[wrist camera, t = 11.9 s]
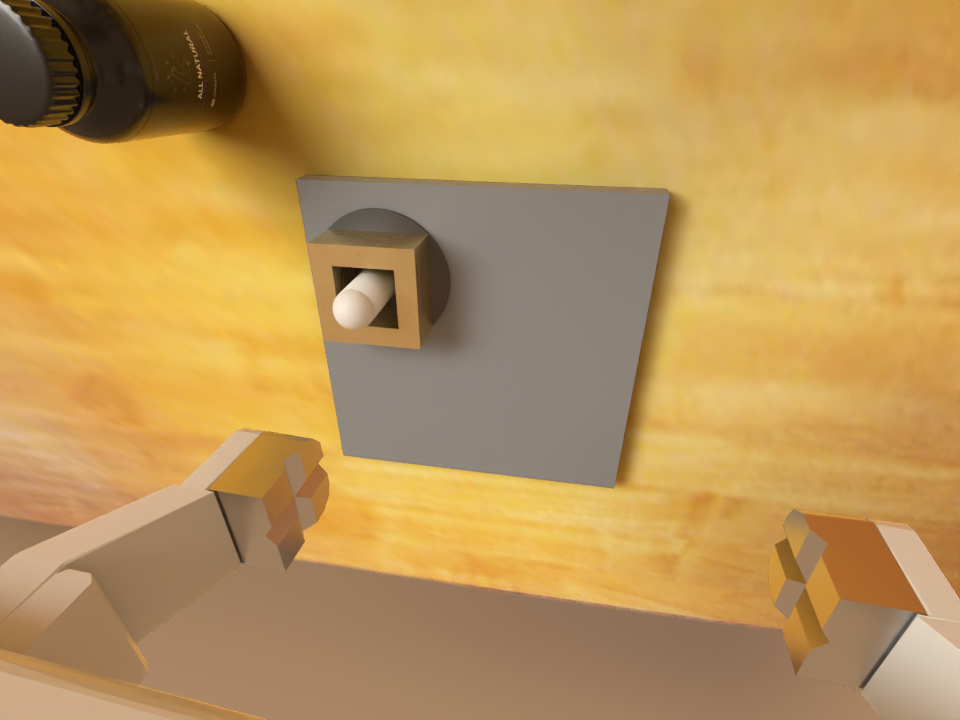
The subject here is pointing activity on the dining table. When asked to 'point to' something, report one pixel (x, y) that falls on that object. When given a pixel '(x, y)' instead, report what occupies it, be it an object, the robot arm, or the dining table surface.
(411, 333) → the wooden collar
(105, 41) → the supplement bottle
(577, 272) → the post board
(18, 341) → the dining table surface
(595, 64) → the dining table surface
